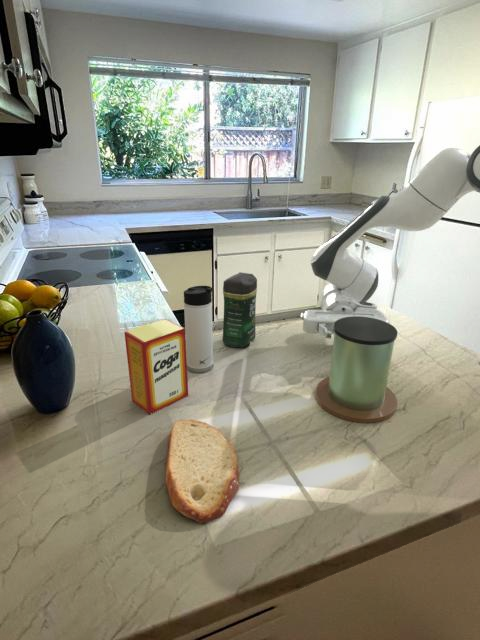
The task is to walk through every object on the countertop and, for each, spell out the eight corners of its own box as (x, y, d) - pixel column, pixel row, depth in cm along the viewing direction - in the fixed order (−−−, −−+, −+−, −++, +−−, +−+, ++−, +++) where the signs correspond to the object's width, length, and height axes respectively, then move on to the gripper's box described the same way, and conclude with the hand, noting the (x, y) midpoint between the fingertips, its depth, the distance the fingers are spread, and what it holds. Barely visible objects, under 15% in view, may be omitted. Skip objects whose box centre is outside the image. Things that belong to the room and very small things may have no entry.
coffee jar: (246, 351, 104) (247, 282, 97) (218, 345, 107) (218, 278, 99) (259, 336, 112) (261, 272, 105) (233, 331, 115) (233, 268, 108)
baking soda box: (169, 383, 89) (165, 317, 83) (188, 395, 85) (184, 326, 78) (132, 401, 83) (124, 330, 77) (149, 414, 78) (142, 340, 72)
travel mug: (208, 375, 92) (206, 293, 85) (182, 370, 94) (178, 289, 87) (218, 362, 98) (217, 284, 90) (193, 358, 100) (190, 281, 92)
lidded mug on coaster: (383, 376, 90) (394, 311, 84) (406, 425, 74) (422, 349, 68) (311, 373, 91) (317, 308, 85) (318, 420, 75) (326, 344, 69)
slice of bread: (185, 421, 77) (184, 404, 75) (269, 454, 68) (270, 437, 67) (114, 482, 62) (111, 463, 61) (209, 534, 54) (209, 514, 53)
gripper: (300, 301, 103) (304, 321, 91) (382, 303, 102) (397, 325, 89) (299, 323, 106) (302, 347, 93) (378, 326, 104) (392, 351, 91)
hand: (349, 336), depth 91 cm, fingers open, 8 cm apart
